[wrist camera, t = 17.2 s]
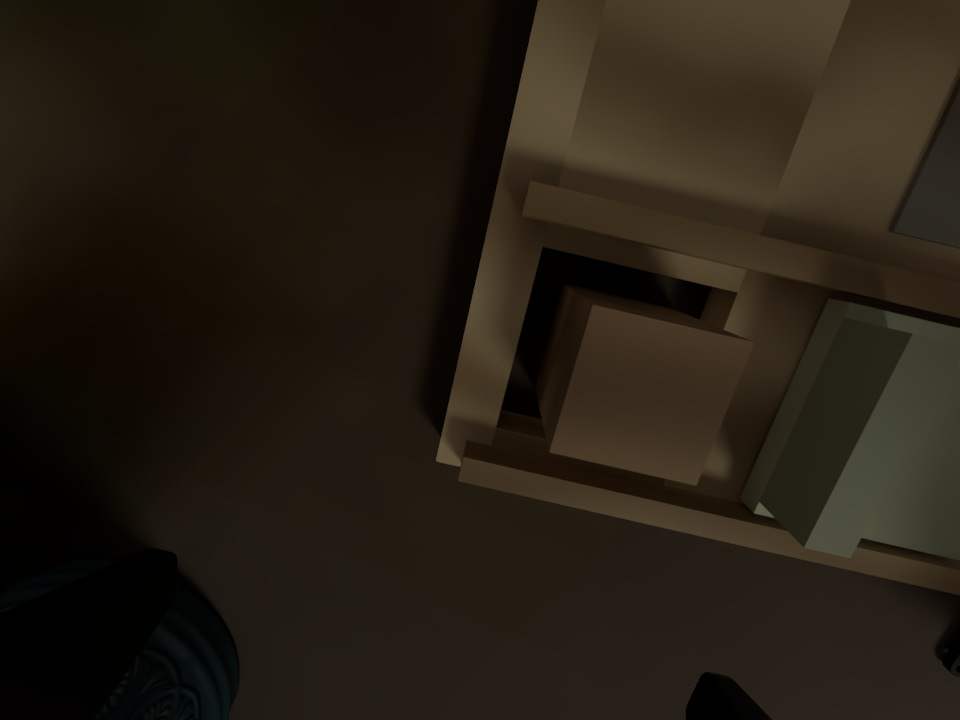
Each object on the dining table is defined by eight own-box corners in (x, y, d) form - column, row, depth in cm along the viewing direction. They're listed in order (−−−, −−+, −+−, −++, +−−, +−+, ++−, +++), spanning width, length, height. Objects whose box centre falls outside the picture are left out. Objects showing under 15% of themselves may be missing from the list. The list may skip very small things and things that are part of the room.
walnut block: (637, 410, 19) (696, 485, 13) (534, 386, 19) (549, 452, 13) (672, 308, 18) (754, 342, 12) (563, 283, 18) (592, 304, 12)
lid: (936, 543, 17) (1040, 616, 14) (739, 497, 17) (797, 560, 14) (1051, 351, 15) (1207, 383, 12) (828, 298, 15) (921, 315, 12)
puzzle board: (896, 543, 20) (974, 603, 17) (442, 439, 20) (430, 479, 16) (1166, 75, 15) (1353, 29, 12) (557, -76, 15) (573, -166, 11)
